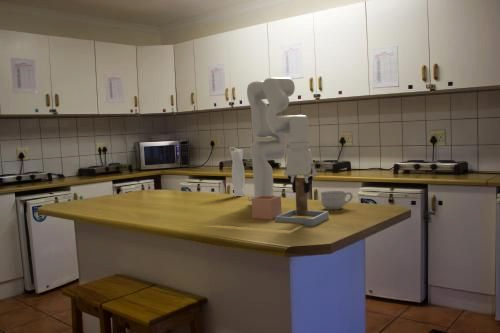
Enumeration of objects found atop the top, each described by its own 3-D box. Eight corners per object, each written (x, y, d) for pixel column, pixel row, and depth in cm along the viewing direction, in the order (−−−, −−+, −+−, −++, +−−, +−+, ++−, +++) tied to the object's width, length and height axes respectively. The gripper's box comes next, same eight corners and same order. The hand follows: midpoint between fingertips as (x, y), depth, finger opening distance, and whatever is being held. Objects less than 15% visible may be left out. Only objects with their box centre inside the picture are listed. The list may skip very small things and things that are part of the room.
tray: (275, 223, 186) (275, 216, 186) (292, 216, 200) (292, 209, 200) (313, 226, 178) (313, 219, 178) (328, 218, 192) (328, 211, 192)
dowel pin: (294, 215, 188) (293, 178, 187) (299, 213, 192) (297, 177, 191) (305, 216, 186) (303, 178, 185) (309, 214, 190) (308, 177, 189)
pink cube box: (252, 220, 196) (251, 198, 195) (263, 216, 204) (261, 195, 203) (271, 221, 191) (270, 199, 191) (281, 217, 199) (280, 196, 198)
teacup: (318, 210, 211) (317, 192, 210) (325, 206, 220) (325, 189, 220) (348, 211, 204) (348, 193, 204) (355, 207, 214) (354, 189, 213)
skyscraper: (233, 197, 263) (230, 147, 261) (230, 195, 270) (227, 146, 268) (247, 196, 265) (244, 146, 263) (243, 194, 272) (241, 146, 270)
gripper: (276, 147, 188) (278, 193, 189) (315, 146, 179) (317, 194, 181) (284, 146, 194) (286, 190, 196) (323, 145, 186) (324, 191, 187)
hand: (301, 191), depth 188 cm, fingers closed on dowel pin, 4 cm apart
